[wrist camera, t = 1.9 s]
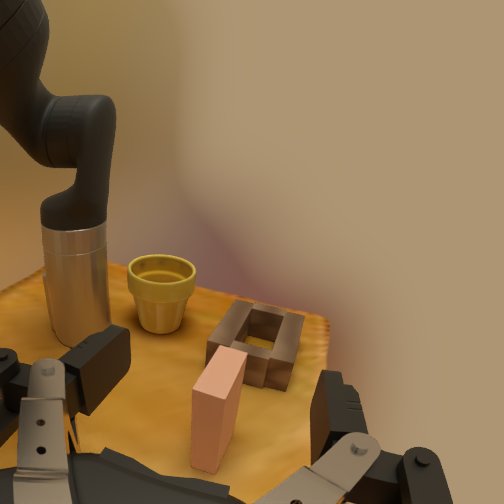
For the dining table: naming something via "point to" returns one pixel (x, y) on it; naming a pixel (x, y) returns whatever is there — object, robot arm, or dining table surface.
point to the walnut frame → (265, 327)
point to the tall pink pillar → (216, 407)
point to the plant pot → (161, 290)
